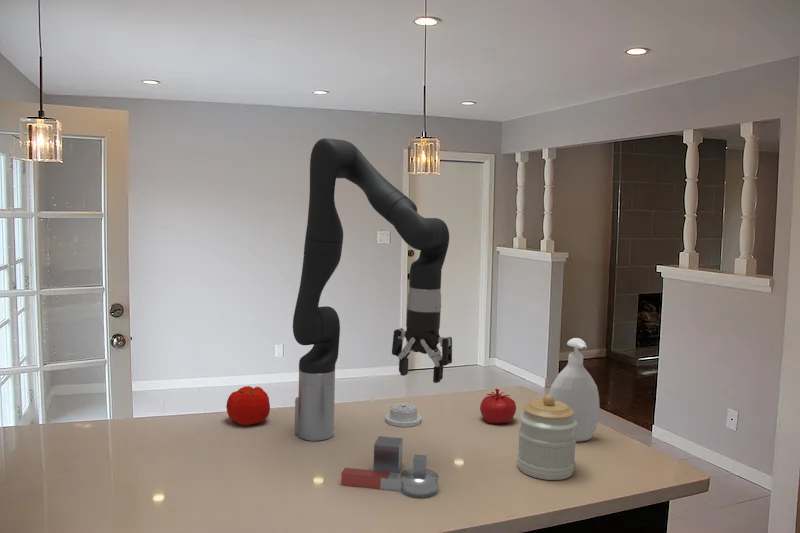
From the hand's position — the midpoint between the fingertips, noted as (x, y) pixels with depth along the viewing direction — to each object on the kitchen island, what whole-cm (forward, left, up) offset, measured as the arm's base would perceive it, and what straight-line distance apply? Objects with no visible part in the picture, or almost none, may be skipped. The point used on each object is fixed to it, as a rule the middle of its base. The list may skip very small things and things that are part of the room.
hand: (420, 378), depth 142 cm
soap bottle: (+26, +37, -21) cm, 50 cm away
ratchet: (-1, -12, -21) cm, 24 cm away
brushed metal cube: (-6, -4, -21) cm, 22 cm away
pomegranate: (+4, +41, -21) cm, 47 cm away
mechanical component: (-18, +26, -21) cm, 38 cm away
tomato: (-53, +2, -21) cm, 57 cm away
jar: (+25, +15, -21) cm, 36 cm away
